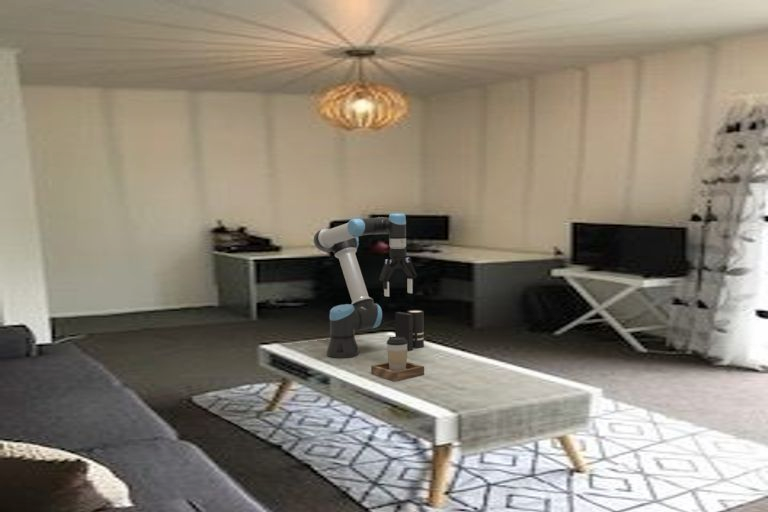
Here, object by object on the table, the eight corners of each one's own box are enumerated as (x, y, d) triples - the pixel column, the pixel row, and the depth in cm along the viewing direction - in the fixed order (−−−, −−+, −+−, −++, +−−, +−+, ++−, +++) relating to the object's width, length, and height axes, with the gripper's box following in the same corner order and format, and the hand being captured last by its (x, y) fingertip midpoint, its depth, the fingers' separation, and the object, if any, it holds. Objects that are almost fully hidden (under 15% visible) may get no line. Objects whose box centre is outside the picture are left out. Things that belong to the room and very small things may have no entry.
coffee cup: (408, 369, 299) (408, 334, 297) (407, 374, 290) (407, 339, 288) (388, 369, 300) (387, 334, 298) (386, 374, 291) (385, 339, 289)
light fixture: (428, 346, 346) (428, 311, 345) (409, 351, 337) (409, 314, 335) (414, 343, 353) (413, 309, 352) (395, 348, 344) (394, 312, 342)
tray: (371, 373, 296) (371, 365, 296) (400, 367, 306) (400, 359, 306) (394, 381, 284) (394, 373, 283) (424, 374, 293) (424, 366, 293)
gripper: (381, 250, 302) (381, 298, 304) (424, 246, 317) (424, 292, 319) (370, 249, 308) (371, 296, 310) (413, 245, 323) (414, 290, 325)
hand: (398, 294), depth 314 cm, fingers open, 13 cm apart
